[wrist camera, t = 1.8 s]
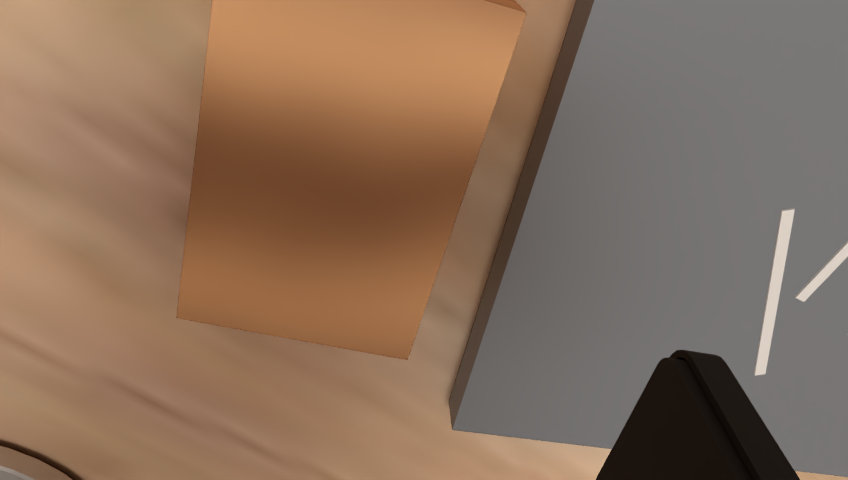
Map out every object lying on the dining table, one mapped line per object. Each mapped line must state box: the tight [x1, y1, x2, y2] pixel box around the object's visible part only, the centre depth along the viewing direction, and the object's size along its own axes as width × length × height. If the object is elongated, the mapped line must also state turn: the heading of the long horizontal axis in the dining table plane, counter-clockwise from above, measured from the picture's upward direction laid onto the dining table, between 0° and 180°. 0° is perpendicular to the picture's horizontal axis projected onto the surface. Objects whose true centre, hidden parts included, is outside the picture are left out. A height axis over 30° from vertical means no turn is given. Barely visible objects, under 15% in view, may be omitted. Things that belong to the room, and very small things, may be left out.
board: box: [449, 0, 848, 477], centre depth 22 cm, size 22×22×2 cm
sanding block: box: [176, 0, 526, 360], centre depth 18 cm, size 10×6×5 cm, turn 164°
